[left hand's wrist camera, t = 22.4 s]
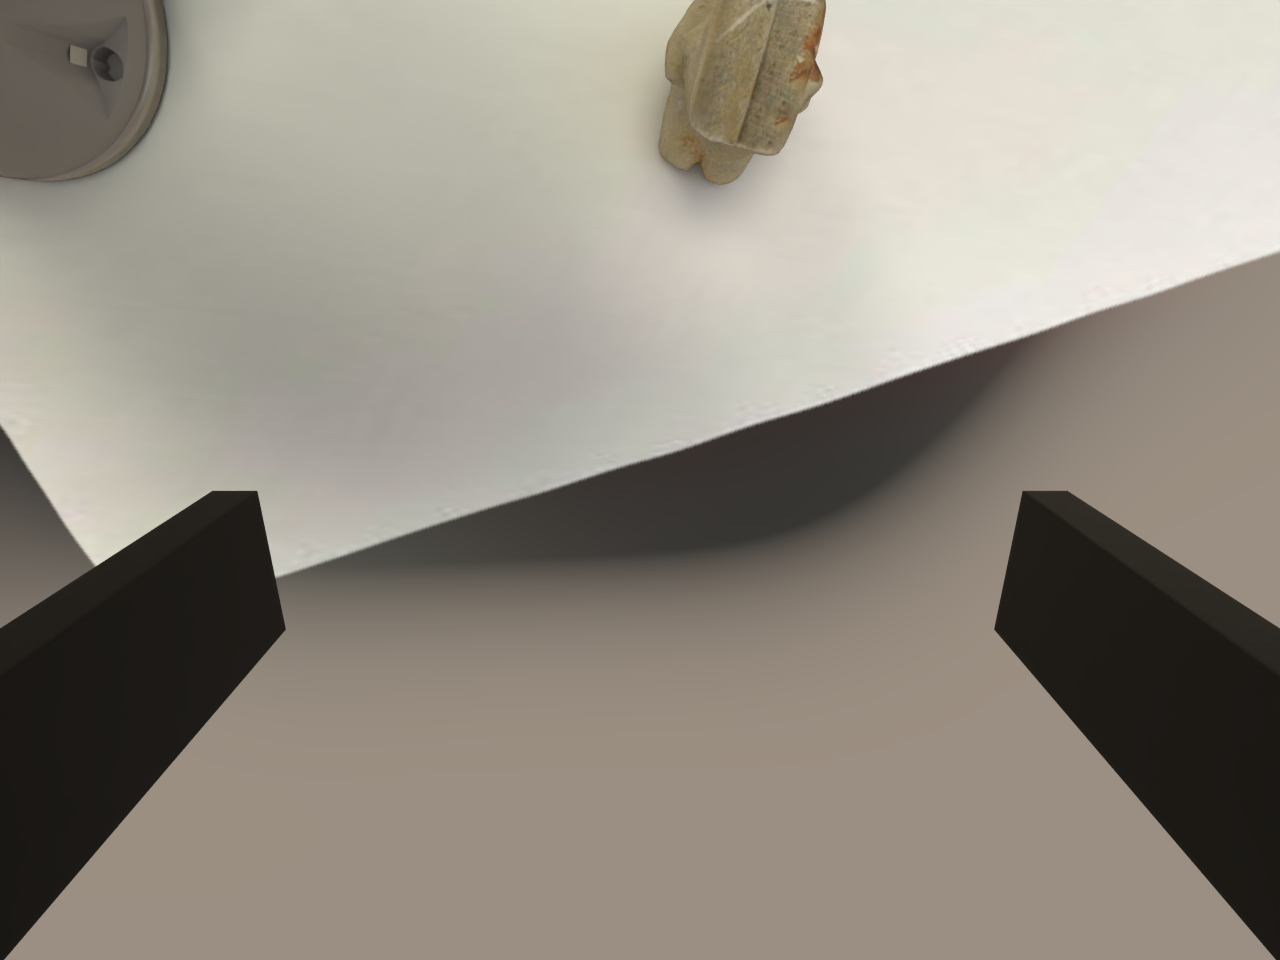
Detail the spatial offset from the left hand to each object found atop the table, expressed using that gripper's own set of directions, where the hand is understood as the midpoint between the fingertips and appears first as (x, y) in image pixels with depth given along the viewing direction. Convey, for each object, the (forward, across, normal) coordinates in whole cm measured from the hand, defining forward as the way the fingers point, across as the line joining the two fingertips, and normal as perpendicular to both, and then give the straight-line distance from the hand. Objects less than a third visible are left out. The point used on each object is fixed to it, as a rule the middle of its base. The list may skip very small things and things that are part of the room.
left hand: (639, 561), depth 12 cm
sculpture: (+29, -4, -11) cm, 31 cm away
